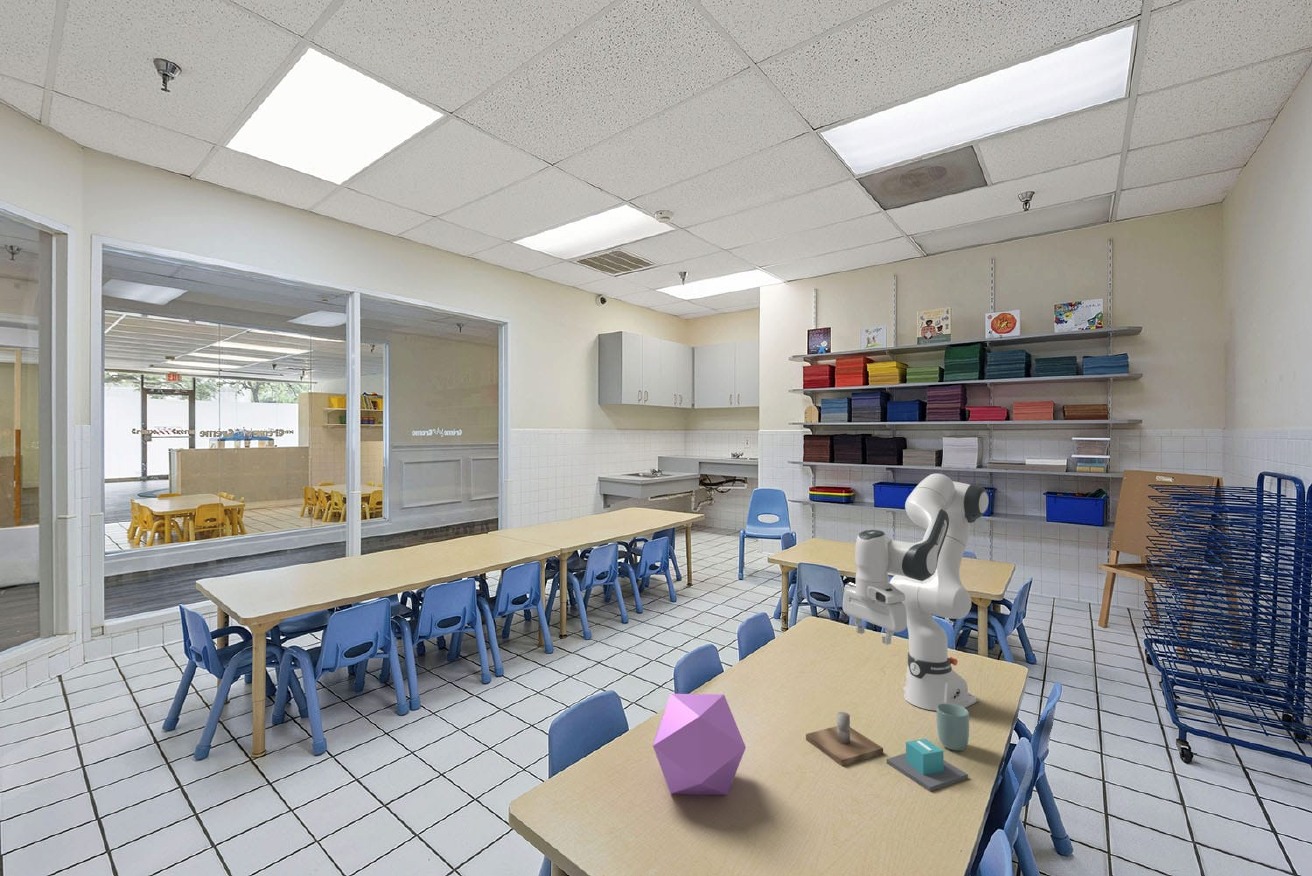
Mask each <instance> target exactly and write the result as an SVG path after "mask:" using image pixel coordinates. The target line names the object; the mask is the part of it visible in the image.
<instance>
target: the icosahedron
mask: <svg viewBox="0 0 1312 876" xmlns="http://www.w3.org/2000/svg"><path fill="white" fill-rule="evenodd" d="M653 740H654V741H653V744H652V748H653V750H654V753H655V755H656V758H657V760H658V764H659V766H660V769H661V771H662V774H663V777H664V780H665V782H666V786H667V788H668V790H669V793H670V794H671V795H704V796H705V795H707V796H709V795H710V796H711V795H712V796H715V795H717V796H728V793H729V791H730V788H731V786H732V784H733V781H734V779H735V776H736V774H737V771H738V769H739V766H740V763H741V761H742V758H743V755H744V754H745V753H744V752H745V751H746V748H747V747H746V744H745V743H744V739H743V737H742V735H741V732H740V729H739V727H738V725H737V723H736V720H735V717H734V715H733V713H732V710H731V708H730V706H729V704H728V700H727V699H726V695H725V694H723V693H722V694H721V693H718V694H717V693H714V694H713V693H709V694H708V693H670V695H669V698H668V701H667V703H666V705H665V709H664V711H663V714H662V717H661V720H660V722H659V726H658V728H657V730H656V733H655V736H654V739H653Z"/></svg>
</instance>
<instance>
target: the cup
mask: <svg viewBox="0 0 1312 876" xmlns="http://www.w3.org/2000/svg"><path fill="white" fill-rule="evenodd" d="M936 729H937V730H936V731H937V735H938V736H937V737H938V739H939V741H940V743H941V745H942V746H943V747H945V748H946V749H949V750H952V751H957V752H958V751H959V752H960V751H964V750H965V749H967V746H968V744H969V740H970V739H969V738H970V713H969V711H968V709H967V708H964V707H962V706H959V705H956V704H950V703H941V704H938V705H937V711H936Z"/></svg>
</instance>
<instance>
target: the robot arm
mask: <svg viewBox="0 0 1312 876" xmlns="http://www.w3.org/2000/svg"><path fill="white" fill-rule="evenodd" d="M988 506H989V493H988V492H987V490H986V489H985V488H984V487H983V486H980V485H977V484H974V483H973V484H969V483H964V482H960V481H954V480H952V479H951V478H950V477H949V476H947V475H945V474H942V473H932V474H929V475H927V476H926V477H925V478H924V479H922V480H921V481H919V483H918V484H917V485H916V487H914V489H913V490H912V492H911V493H910V494H909V495H908V497H907V498H906V501H905V504H904V509H905V512H906V515H907V517H908V518H909V519H910V521H912V522H913V523H914V524H915V525H917V526H918V527H920V528H923V529H925V530H926V531H925V533H924V535H923V538H922V540H920V541H917V542H910V541H902V540H897V539H892V538H890V537H887V536H886V535H887V534H886V532H885V531H882V530H879V529H869V530H868V529H865V530H863V531H861V532H859V533H858V535H857V537H856V540H855V548H854V549H855V550H854V551H855V552H854V553H855V554H854V555H855V556H854V557H855V558H854V560H855V566H856V572H855V583H853V582H851V581H850V582H847V583H846V584H845V585H844V592H843V597H842V598H843V599H842V610H843V613H844V614H846V615H848V616H852V621H853V623H854V625H855V627H856V628H855V629H856V630H855V632H856V633H857V634H860V635H862V634H865V632H866V631H865V630H866V629H865V626H863V624H862V621H865V622H867V623H870V624H872V625H875V626H878V627H881V628H883V629H884V632H885V635H884V636H881V639H882V640H881V642H882V644H884V645H887V646H888V645H891V644H892V637H893V636H894V634H895V633H901V632H904V631H905V630H906V629H907V632H908V653H907V657H906V659H907V665H908V666H907V667H906V676H905V685H904V686H903V687H902V688H903V689H902V690H903V693H904V694H903V698H904V699H905V701H906V702H908V703H909V704H911V705H913V706H915V707H918V708H921V709H924V710H929V711H934V712H935V711H936V712H937V705H938V704H941V703H950V704H956V705H959V706H962V707H964V708H965V709H967V708H968V707H970V706H972V705H973V704H975V703H977V701H978V700H977V697H975V696H974V695H973V694H971V693H970V692H969V688H968V682H967V681H966V679H965V678H963V677H962V676H961V675H959V673H957V672H956V671H955V670H953V668H952V666H957V665H958V662H959V661H958V660H957V658H954V657H951V656H950V657H949V656H948V655H949V654H948V652H949V651H948V635H947V632H946V631H945V629H944V628H943V627H942V626H940V625H939V624H938V623H937V621H936V620H935V618H934V617H933V616H936V617H941V618H944V619H954V620H955V619H956V620H957V619H958V620H959V619H964V618H966V616H967V615H968V614H969V612H971V611H970V610H972V609H971V608H972V598H971V595H970V593H969V592H968V590H967V589H966V587H965V586H964V585H963V583H962V581H961V578H960V577H961V576H960V567H961V565H962V559H963V557H964V553H965V551H966V548H967V545H968V541H969V536H970V529H971V523H974V522H976V520H977V519H980V518H981V517H982V516H983V515H984V514H985V513H986V512H987V510H988V508H989V507H988ZM889 574H892V575H894V576H893V577H892V578H890V577H889Z"/></svg>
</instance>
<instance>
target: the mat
mask: <svg viewBox="0 0 1312 876" xmlns="http://www.w3.org/2000/svg"><path fill="white" fill-rule="evenodd" d="M886 764H887V765H889V766H891V767H892V768H894V770H897V771H898V772H900V773H901V774H903V775H904V776H905V777H907V778H909V779H910V780H911V781H913V782H915V783H916V784H918V785H919V786H921V787H922V788H924V789H925V790H927V791H928V792H932V791H936V790H939V789H942V788H944V787H948V786H950V785H953V784H955V783H958V782H962V781H965V780H967V779H969V774H968V772H965V771H963V770H962V769H961V768H958V767H957V766H955V765H953V764H952V763H950V762H948V761H946V760H944V771H942V772H937V773H932V774H926V775H923V774H921V773H920V772H919V771H917V770H916V769H915V768H914V767H912V766H911V765H910V764H908V763H907V762H906V752H905V753H901V754H897V755H895V756H892V757H888V758H886Z"/></svg>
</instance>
